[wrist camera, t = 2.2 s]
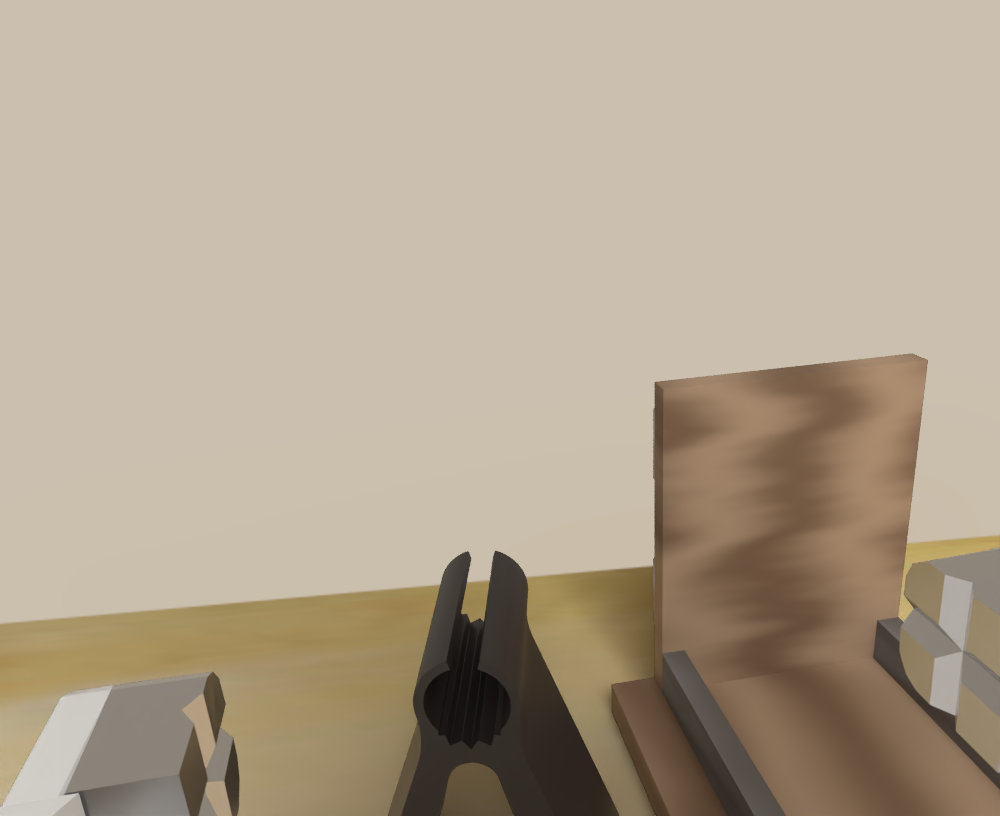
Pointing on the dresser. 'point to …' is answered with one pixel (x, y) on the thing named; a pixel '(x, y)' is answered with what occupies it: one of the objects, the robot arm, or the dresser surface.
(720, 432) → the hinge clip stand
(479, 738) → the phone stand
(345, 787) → the dresser surface
